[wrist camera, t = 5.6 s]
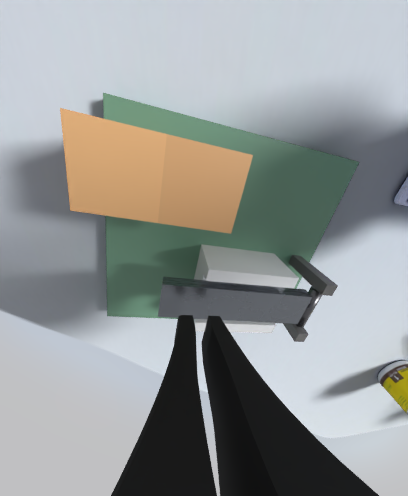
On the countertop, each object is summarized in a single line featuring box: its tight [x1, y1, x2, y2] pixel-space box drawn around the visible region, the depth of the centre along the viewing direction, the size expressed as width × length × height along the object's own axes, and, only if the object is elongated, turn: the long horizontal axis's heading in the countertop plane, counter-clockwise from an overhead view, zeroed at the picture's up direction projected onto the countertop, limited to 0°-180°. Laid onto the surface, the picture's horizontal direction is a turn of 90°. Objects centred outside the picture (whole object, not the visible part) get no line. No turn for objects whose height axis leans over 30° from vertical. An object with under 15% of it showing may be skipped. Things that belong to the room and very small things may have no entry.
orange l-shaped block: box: [60, 108, 253, 234], centre depth 9 cm, size 6×3×5 cm, turn 78°
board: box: [103, 93, 359, 342], centre depth 13 cm, size 16×15×5 cm
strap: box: [158, 276, 322, 328], centre depth 13 cm, size 11×3×1 cm, turn 78°
